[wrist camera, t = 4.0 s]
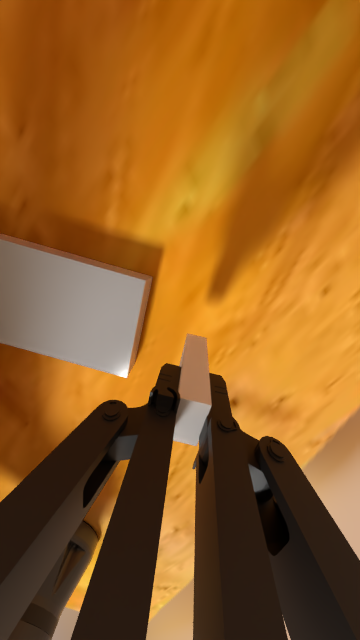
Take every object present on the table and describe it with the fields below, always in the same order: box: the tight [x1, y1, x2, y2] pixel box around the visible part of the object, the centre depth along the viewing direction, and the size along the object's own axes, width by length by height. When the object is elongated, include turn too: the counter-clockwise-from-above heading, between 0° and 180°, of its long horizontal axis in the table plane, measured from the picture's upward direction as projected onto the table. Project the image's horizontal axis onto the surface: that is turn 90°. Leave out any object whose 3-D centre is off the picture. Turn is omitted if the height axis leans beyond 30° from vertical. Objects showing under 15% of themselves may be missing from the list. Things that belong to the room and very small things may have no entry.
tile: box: [0, 233, 153, 378], centre depth 18 cm, size 10×18×3 cm, turn 75°
